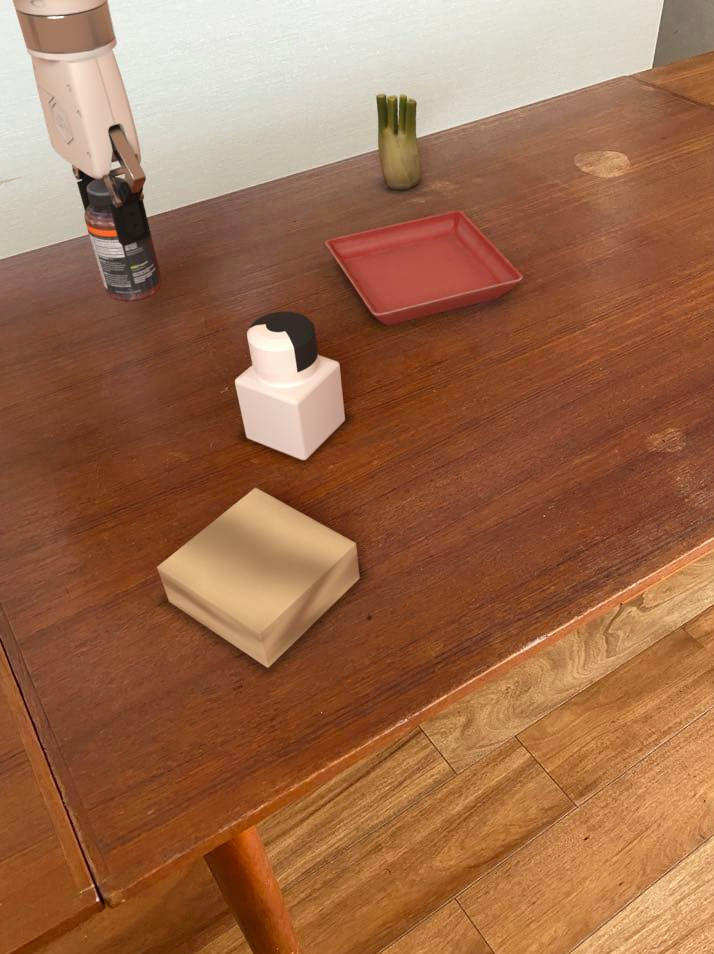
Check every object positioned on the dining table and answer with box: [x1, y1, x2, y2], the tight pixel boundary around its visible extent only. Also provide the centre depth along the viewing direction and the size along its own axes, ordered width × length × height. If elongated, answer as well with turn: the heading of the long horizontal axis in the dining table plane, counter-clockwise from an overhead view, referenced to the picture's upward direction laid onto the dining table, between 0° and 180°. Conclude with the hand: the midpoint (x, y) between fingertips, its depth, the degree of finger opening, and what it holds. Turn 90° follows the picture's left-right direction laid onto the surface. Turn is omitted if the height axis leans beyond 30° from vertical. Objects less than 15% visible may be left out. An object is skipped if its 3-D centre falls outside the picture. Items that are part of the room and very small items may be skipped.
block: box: [156, 487, 360, 669], centre depth 69 cm, size 11×11×4 cm
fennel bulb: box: [375, 93, 422, 192], centre depth 116 cm, size 6×5×12 cm
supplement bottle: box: [83, 176, 163, 303], centre depth 88 cm, size 6×6×11 cm
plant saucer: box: [324, 210, 523, 326], centre depth 102 cm, size 18×18×3 cm
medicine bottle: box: [234, 310, 346, 461], centre depth 80 cm, size 7×7×12 cm
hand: (118, 226), depth 87 cm, fingers closed on supplement bottle, 6 cm apart
